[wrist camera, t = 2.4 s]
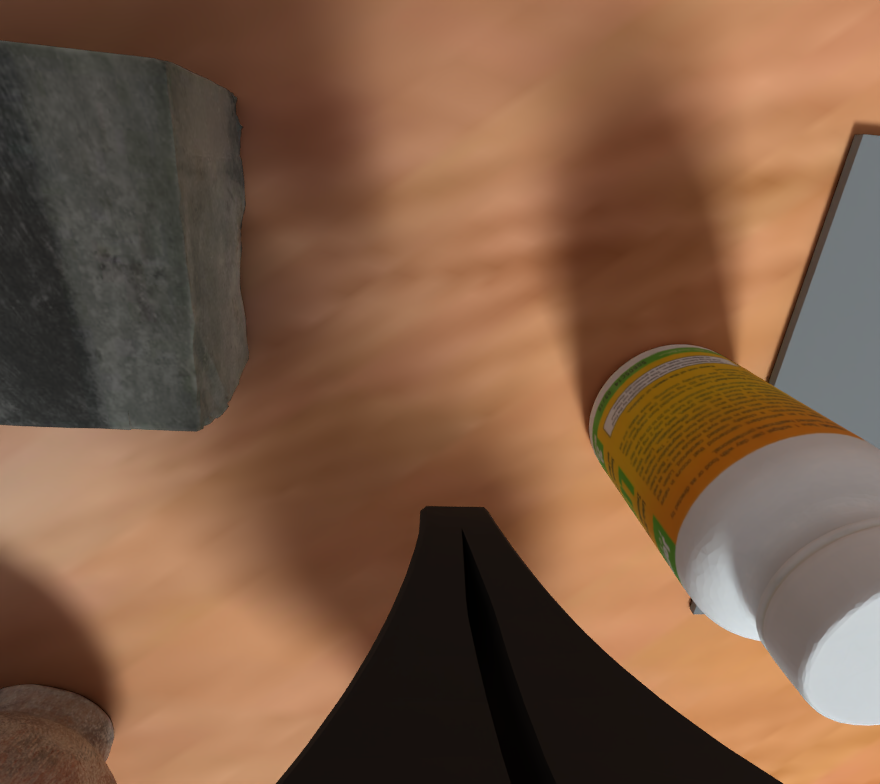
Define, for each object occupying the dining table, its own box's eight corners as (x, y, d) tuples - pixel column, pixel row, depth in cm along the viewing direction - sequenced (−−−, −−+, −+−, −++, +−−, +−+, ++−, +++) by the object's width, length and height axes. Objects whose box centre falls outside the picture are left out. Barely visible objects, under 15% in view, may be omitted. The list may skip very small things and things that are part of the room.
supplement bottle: (553, 428, 18) (702, 685, 9) (669, 307, 16) (982, 473, 8) (654, 503, 20) (865, 785, 11) (768, 400, 18) (1122, 626, 9)
